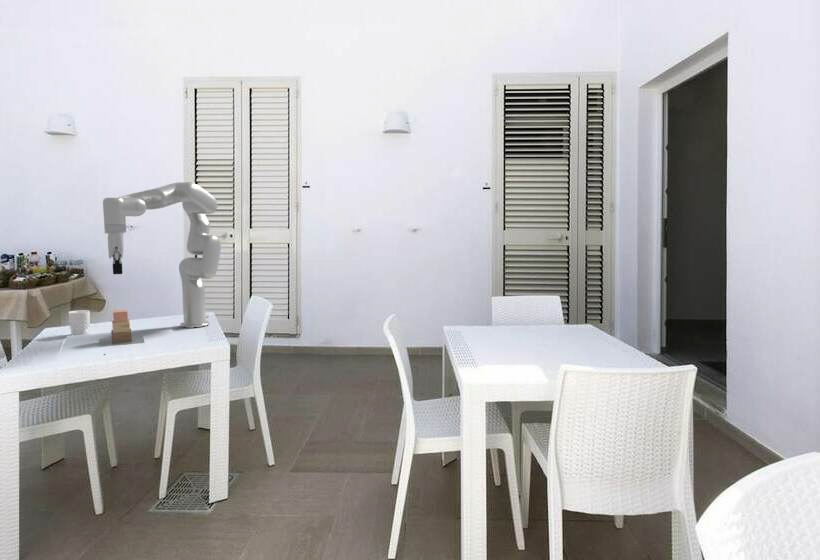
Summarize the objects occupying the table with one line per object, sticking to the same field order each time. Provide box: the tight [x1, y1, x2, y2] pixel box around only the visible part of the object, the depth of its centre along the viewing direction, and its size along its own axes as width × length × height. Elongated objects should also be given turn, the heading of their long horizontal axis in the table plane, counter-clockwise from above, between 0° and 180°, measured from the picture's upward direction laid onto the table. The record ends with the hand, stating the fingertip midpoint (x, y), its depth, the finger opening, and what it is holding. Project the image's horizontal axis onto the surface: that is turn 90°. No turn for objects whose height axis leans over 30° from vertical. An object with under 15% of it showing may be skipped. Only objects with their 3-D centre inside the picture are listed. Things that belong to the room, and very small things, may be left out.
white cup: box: [68, 309, 91, 336], centre depth 242 cm, size 8×8×10 cm
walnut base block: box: [110, 328, 132, 343], centre depth 226 cm, size 7×7×4 cm
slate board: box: [98, 334, 145, 348], centre depth 226 cm, size 16×16×1 cm
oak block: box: [111, 318, 131, 333], centre depth 225 cm, size 6×6×4 cm
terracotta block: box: [112, 309, 129, 323], centre depth 225 cm, size 5×5×4 cm
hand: (117, 272), depth 223 cm, fingers open, 9 cm apart
